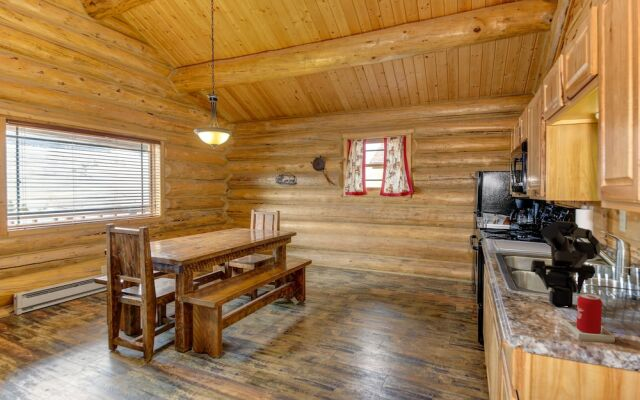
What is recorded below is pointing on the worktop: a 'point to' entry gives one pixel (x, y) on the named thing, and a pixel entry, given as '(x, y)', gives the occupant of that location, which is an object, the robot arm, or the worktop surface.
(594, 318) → the beverage can
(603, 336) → the tray
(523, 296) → the worktop surface
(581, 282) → the robot arm
